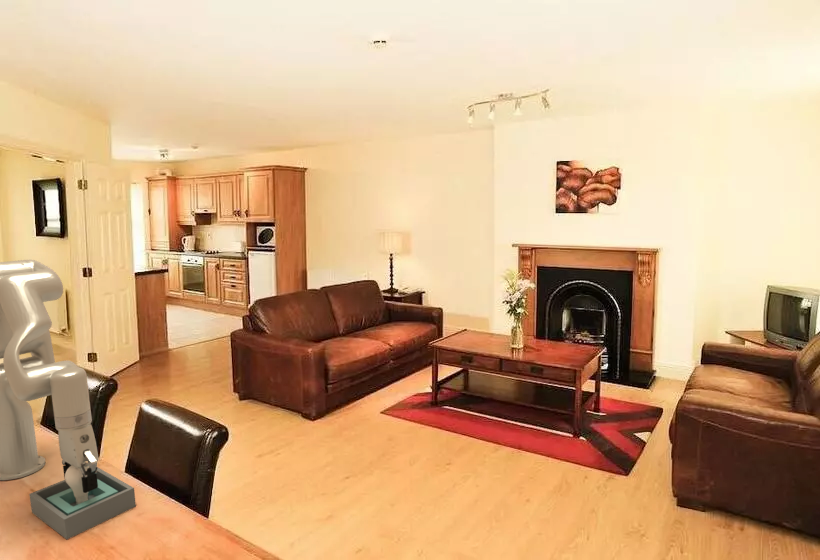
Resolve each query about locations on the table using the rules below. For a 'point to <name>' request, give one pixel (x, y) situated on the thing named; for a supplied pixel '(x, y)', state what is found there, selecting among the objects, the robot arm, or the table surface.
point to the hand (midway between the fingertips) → (81, 484)
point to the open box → (82, 504)
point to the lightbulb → (76, 483)
